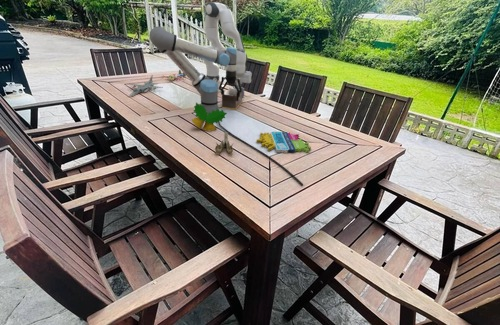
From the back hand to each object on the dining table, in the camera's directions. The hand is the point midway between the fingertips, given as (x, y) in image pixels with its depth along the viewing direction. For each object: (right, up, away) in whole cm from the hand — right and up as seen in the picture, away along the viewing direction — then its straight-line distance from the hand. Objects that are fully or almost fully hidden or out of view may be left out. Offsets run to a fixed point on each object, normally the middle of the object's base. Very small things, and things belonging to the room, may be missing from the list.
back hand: (239, 87), depth 223 cm
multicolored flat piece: (+28, -53, -70) cm, 93 cm away
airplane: (-84, -2, +7) cm, 84 cm away
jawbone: (-4, -59, -84) cm, 103 cm away
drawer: (-2, -11, -3) cm, 12 cm away
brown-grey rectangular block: (-5, -18, -13) cm, 23 cm away
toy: (-70, +26, +58) cm, 94 cm away
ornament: (-16, -43, -58) cm, 74 cm away
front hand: (-6, -16, -21) cm, 27 cm away
